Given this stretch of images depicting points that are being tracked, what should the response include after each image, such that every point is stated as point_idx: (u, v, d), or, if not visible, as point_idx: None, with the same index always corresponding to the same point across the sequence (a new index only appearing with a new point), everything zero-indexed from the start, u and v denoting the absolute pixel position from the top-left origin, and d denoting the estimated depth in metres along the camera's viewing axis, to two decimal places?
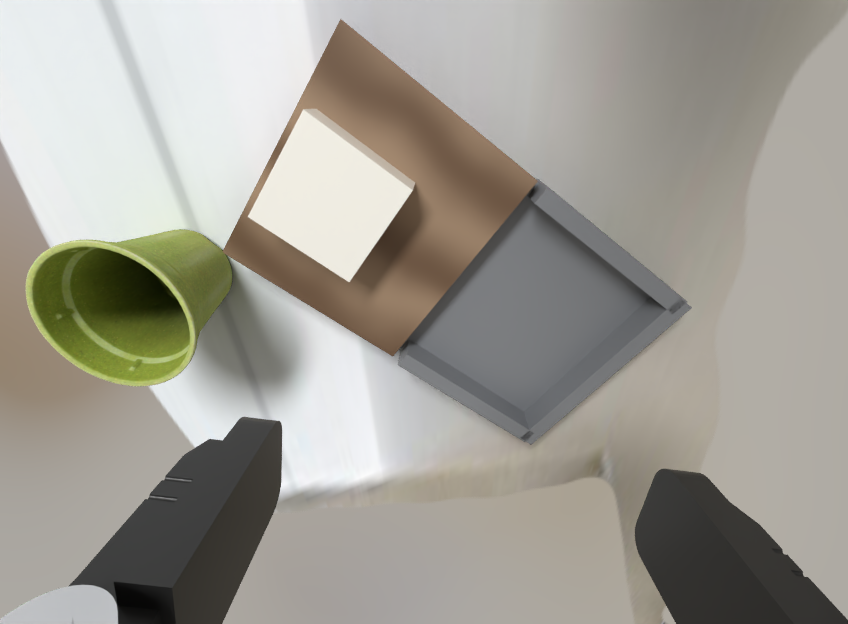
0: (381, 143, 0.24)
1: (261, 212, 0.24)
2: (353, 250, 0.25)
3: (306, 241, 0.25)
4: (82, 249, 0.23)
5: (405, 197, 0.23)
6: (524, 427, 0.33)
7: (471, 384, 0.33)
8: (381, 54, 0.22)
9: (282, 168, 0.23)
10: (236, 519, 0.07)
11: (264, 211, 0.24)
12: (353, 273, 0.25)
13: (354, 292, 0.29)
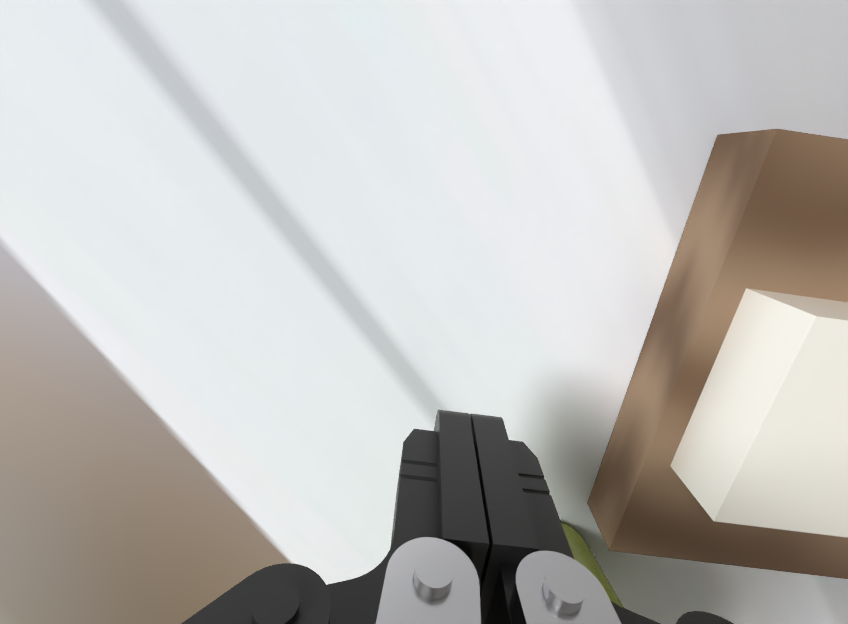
0: None
1: (739, 505, 0.13)
2: None
3: (832, 516, 0.13)
4: None
5: None
6: None
7: None
8: None
9: (777, 425, 0.12)
10: None
11: (745, 502, 0.13)
12: None
13: None
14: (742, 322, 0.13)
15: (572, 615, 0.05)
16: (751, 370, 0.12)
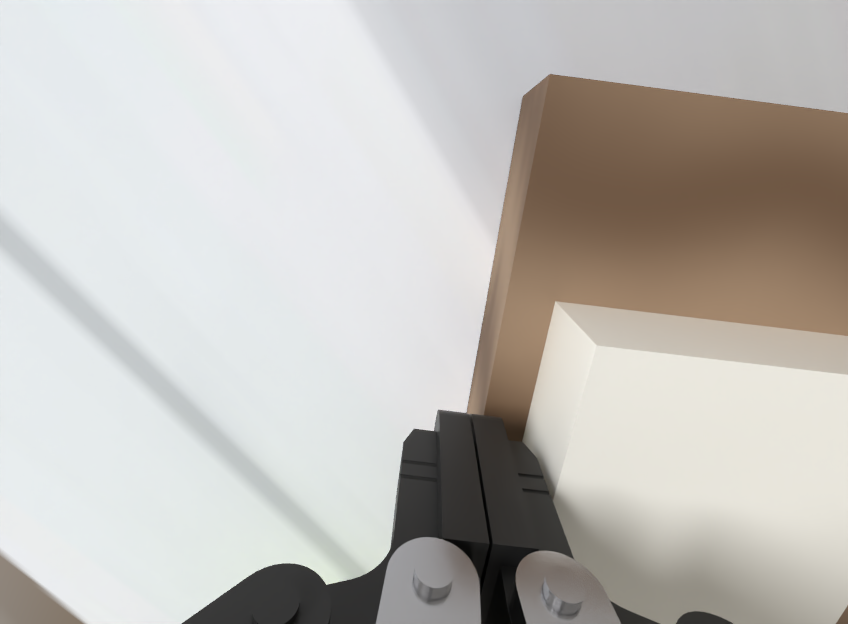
0: (733, 293, 0.09)
1: None
2: (816, 588, 0.09)
3: None
4: None
5: None
6: None
7: None
8: (681, 95, 0.08)
9: (576, 499, 0.08)
10: None
11: None
12: None
13: None
14: (550, 348, 0.09)
15: (572, 614, 0.05)
16: (551, 417, 0.09)
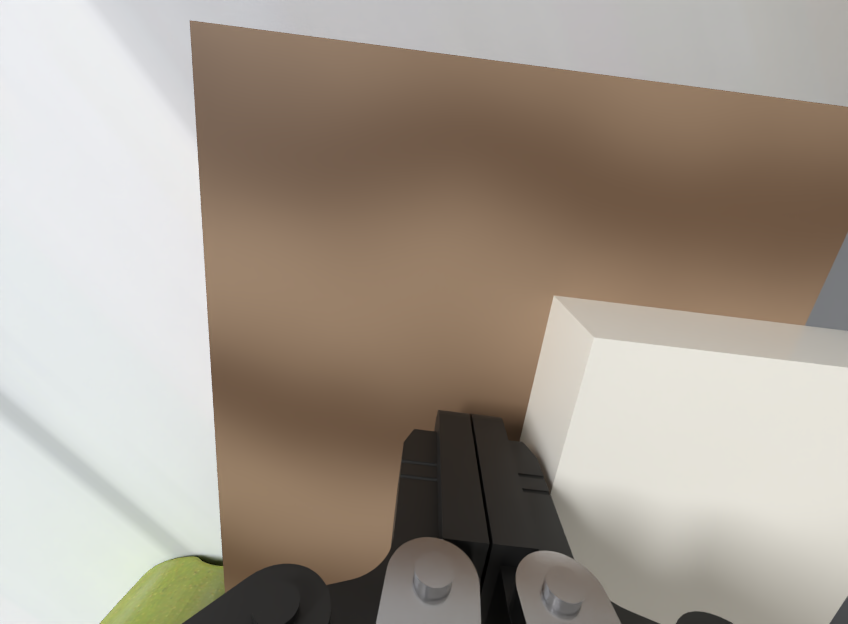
0: (429, 249, 0.09)
1: None
2: (814, 582, 0.09)
3: (678, 610, 0.09)
4: None
5: None
6: None
7: None
8: (326, 43, 0.08)
9: (573, 491, 0.08)
10: None
11: None
12: None
13: None
14: (549, 342, 0.09)
15: (572, 615, 0.05)
16: (549, 410, 0.09)
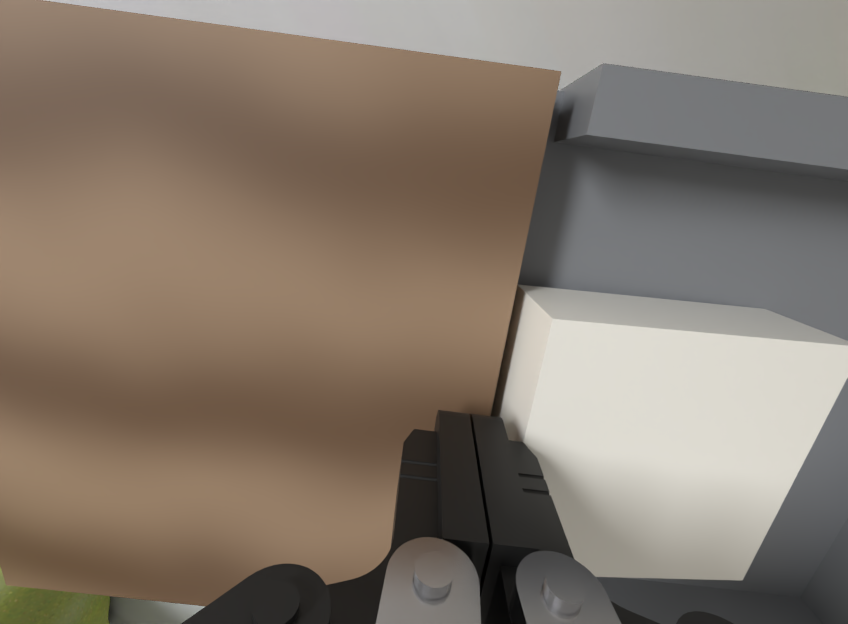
0: (121, 213, 0.09)
1: None
2: (740, 522, 0.10)
3: (630, 556, 0.10)
4: None
5: (847, 370, 0.09)
6: None
7: (651, 603, 0.14)
8: None
9: (539, 456, 0.09)
10: None
11: None
12: (748, 562, 0.11)
13: (287, 548, 0.12)
14: (514, 326, 0.10)
15: (572, 615, 0.05)
16: (516, 386, 0.10)
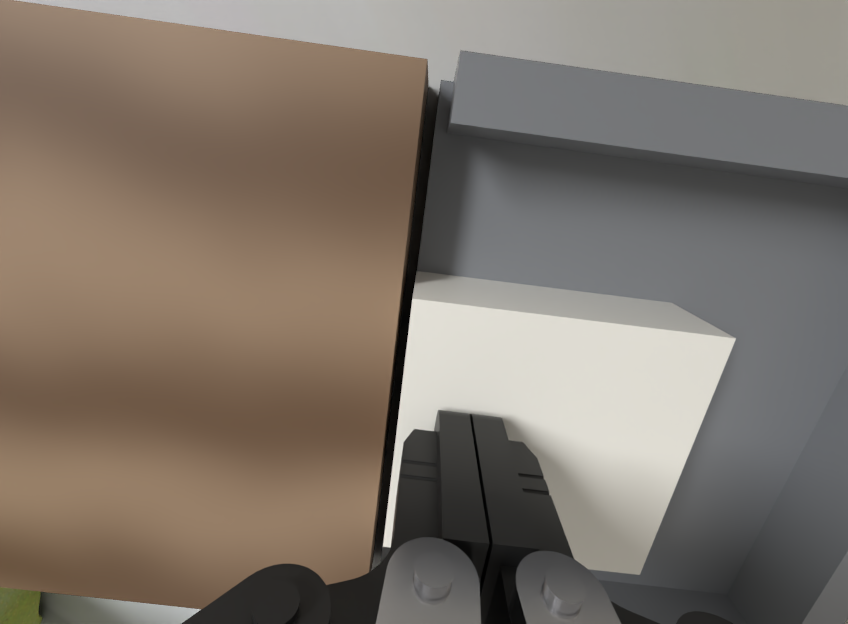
0: None
1: None
2: (629, 514, 0.10)
3: None
4: None
5: (722, 361, 0.09)
6: None
7: None
8: None
9: None
10: None
11: None
12: (643, 556, 0.11)
13: (195, 542, 0.12)
14: None
15: (572, 614, 0.05)
16: None
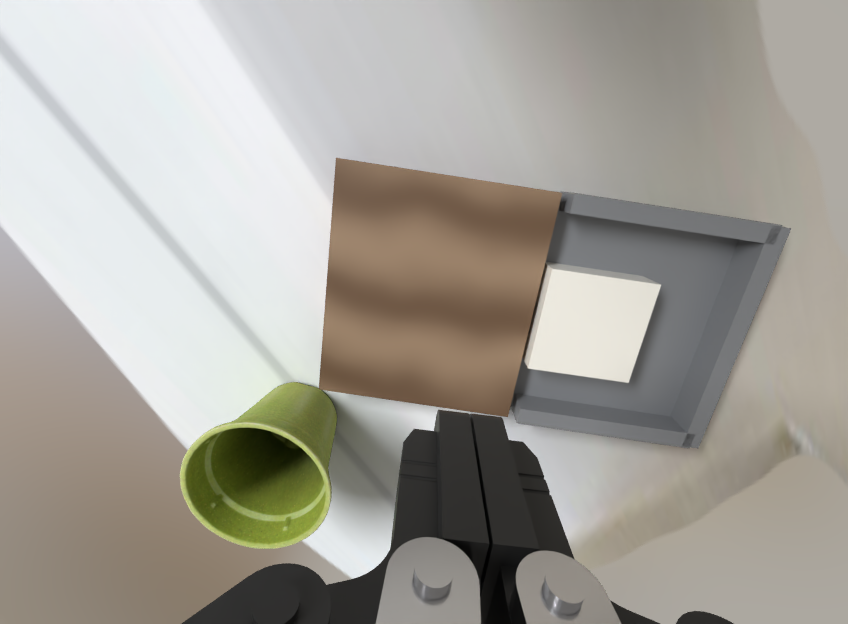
0: (410, 233, 0.26)
1: (538, 360, 0.28)
2: (624, 354, 0.27)
3: (581, 365, 0.28)
4: (212, 438, 0.26)
5: (657, 293, 0.26)
6: (680, 432, 0.29)
7: (599, 411, 0.30)
8: (378, 165, 0.25)
9: (546, 319, 0.27)
10: None
11: (540, 358, 0.28)
12: (630, 373, 0.28)
13: (444, 372, 0.29)
14: None
15: (572, 615, 0.05)
16: (540, 296, 0.27)
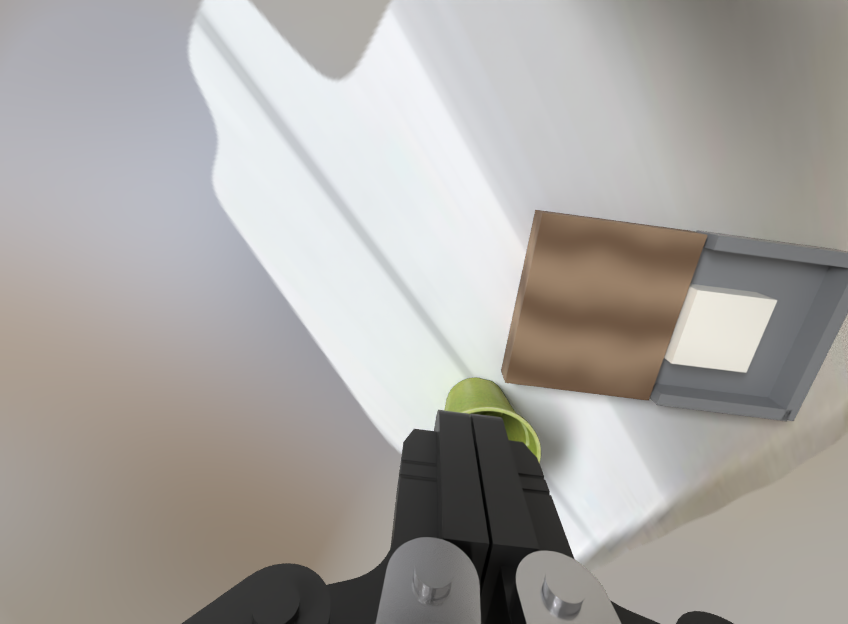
0: (590, 265, 0.35)
1: (680, 357, 0.37)
2: (745, 351, 0.37)
3: (712, 360, 0.37)
4: None
5: (773, 306, 0.35)
6: (781, 409, 0.39)
7: (716, 394, 0.40)
8: (573, 217, 0.34)
9: (689, 326, 0.36)
10: None
11: (681, 355, 0.37)
12: (748, 366, 0.37)
13: (603, 367, 0.38)
14: None
15: (572, 615, 0.05)
16: (682, 309, 0.36)
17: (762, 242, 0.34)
